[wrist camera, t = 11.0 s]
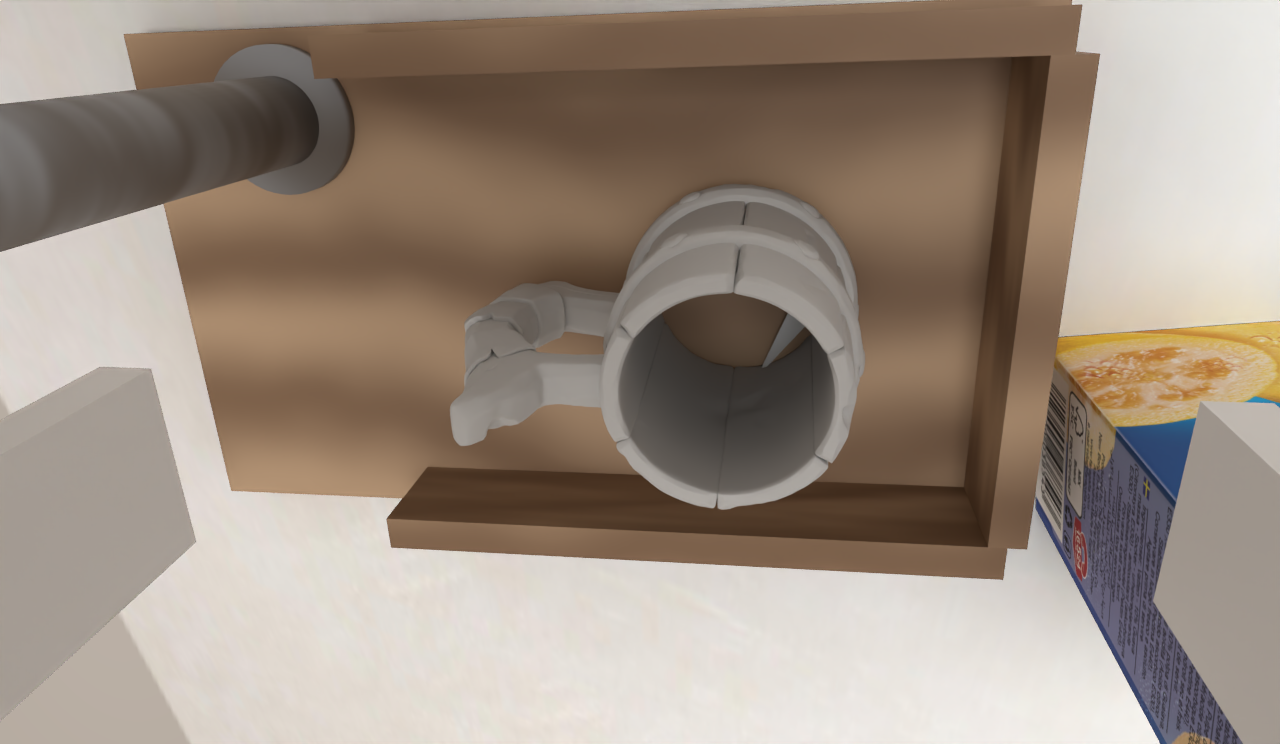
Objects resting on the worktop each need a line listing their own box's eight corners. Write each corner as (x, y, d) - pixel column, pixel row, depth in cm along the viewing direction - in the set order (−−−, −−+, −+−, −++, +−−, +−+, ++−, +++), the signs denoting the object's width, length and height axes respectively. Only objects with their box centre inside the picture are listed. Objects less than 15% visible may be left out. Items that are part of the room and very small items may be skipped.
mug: (847, 392, 31) (885, 593, 20) (527, 381, 33) (400, 561, 22) (862, 176, 28) (915, 272, 17) (511, 176, 30) (357, 265, 19)
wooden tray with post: (146, 33, 31) (-494, 45, 16) (1060, -5, 27) (1466, -43, 11) (247, 477, 38) (-132, 800, 22) (994, 508, 33) (1188, 943, 18)
